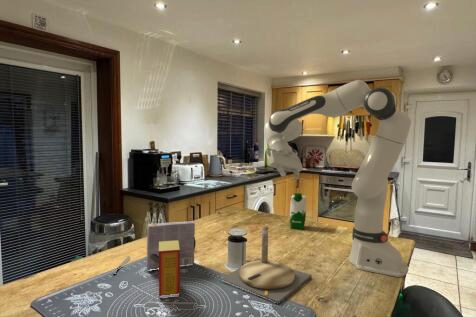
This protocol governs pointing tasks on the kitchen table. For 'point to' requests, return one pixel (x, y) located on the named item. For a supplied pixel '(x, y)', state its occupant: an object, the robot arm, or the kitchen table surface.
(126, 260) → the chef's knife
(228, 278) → the base plate
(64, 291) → the kitchen table surface
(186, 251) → the cake pan box
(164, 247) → the baking soda box
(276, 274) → the dial
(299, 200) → the milk carton
